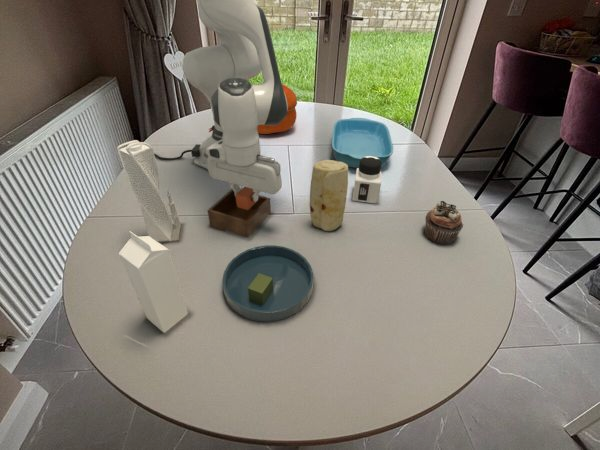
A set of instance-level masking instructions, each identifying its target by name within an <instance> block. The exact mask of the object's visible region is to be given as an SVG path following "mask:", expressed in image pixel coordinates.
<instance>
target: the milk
mask: <svg viewBox="0 0 600 450" xmlns="http://www.w3.org/2000/svg"><path fill="white" fill-rule="evenodd" d="M128 233H129V236H130V238H129V239H128V240H127V242H126V243H125V245H124V246H123V247H122V248H121V250H120V251H119V252H118V255H119V257H120V260H121V262H122V265H123V267H124V269H125V272H126V274H127V276H128V279H129V281H130V283H131V286H132V287H133V289H134V292H135V294H136V297H137V299H138V301H139V304H140V306H141V308H142V310H143V312H144V315H145V317H146V319H147V320H148V321H149V322H151V323H152V325H154V326H155V327H157V328H158V329H159V330H160V331H161V332H162V333H163V334H165V333H166V332H167V331H169V330H170V329H171V328H172V327H174V326H175V325H176V324H178V323H180V321H181V320H182V319H184V318H185V317H186V316H187V315H188V314H189V311H188V308H187V305H186V301H185V298H184V295H183V292H182V288H181V285H180V282H179V278H178V274H177V272H176V268H175V266H174V262H173V259H172V256H171V252H170V249H168V247H166V246H164V245H163V244H162V243H158V242H157V241H155V240H154V239H152V238H151V237H150V236H148V235H144V236H143V235H142V236H138V235H136V234H135V233H134V232H132V231H131V230H129V231H128Z"/></svg>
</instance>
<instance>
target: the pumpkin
mask: <svg viewBox="0 0 600 450" xmlns="http://www.w3.org/2000/svg"><path fill="white" fill-rule="evenodd" d="M258 84H259V83H256V84H254V85H258ZM282 86H283V90H284V93H285V95H286V99H287V105H288V109H287V115H286V117H285V118H284V119H283V120H282V121H281V122H280V123H279V124H278V125H258V126H257V132H258V134H260V135H271V134H275V133H282V132H286V131H288V130H290V129H291V128H292V127H293V126H294V125H295V124H296V121H297V116H298V115H297V108H296V107H297V105H298V98H297V96H296V94H295V92H294V91H293V89H291V88H290V87H288V86H287V85H285V84H283V83H282Z"/></svg>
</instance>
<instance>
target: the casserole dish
mask: <svg viewBox="0 0 600 450" xmlns="http://www.w3.org/2000/svg"><path fill="white" fill-rule="evenodd" d="M332 127H333V128H332V137H331V147H332V151H333V155H334V158H335V161H338V162H343V163H345V164H347V165H348V168H350V169H351V168H352V169H357V168H359V164H360V159H362V158H363V157H366V156H373V157H376V158H379V159H380V160H381V162H382V166H381V168H382V167H384V166H385V165H386V164H387V163H388V161H389V159H390V157H391V156H392V155H393V153H394V146H393V140H392V137H391V133H390V129H389V126H387V125H386V124H385V123H384V122H381V121H379V120H373V119H369V118H366V117H352V118H342V119H338V120H337V121H335V122H334V124H333V126H332Z"/></svg>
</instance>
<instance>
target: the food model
mask: <svg viewBox="0 0 600 450" xmlns="http://www.w3.org/2000/svg"><path fill="white" fill-rule="evenodd" d="M310 179H311V180H310V186H309V187H310V189H309V213H310V219H311V222H312V225H313V227H315V228H318V229H322V230H323V231H324V232H333V231H335V230H336V229H338V228H339V227H340V226H341V225H342V224H343V222H344V216H345V215H344V214H345V210H346V205H347V204H346V203H347V197H348V196H347V195H348V187H349V167H348V165H347V164H345V163H343V162H338V161H337V160H333V159H332V160H331V159H325V160H324V159H323V160H320V161H318V162H316V163H314V164H313V166H312V172H311V178H310Z"/></svg>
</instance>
